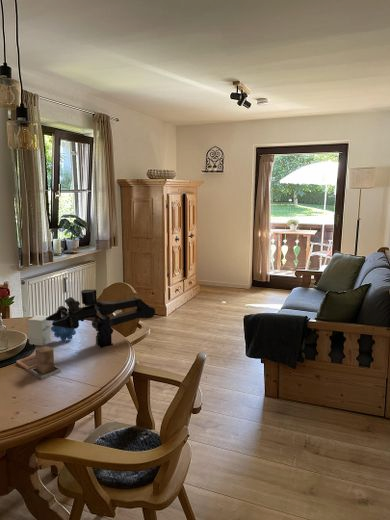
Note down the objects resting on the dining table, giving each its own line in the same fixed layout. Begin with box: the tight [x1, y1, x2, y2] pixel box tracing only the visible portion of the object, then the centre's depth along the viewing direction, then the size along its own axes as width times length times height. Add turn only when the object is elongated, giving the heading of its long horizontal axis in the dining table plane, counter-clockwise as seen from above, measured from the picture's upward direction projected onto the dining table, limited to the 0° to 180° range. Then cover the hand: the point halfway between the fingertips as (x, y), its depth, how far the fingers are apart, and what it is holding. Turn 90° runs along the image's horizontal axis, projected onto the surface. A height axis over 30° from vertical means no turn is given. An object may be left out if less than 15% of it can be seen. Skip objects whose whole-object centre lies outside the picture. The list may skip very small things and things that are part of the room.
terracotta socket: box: [16, 354, 37, 372], centre depth 167 cm, size 10×10×1 cm
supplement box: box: [27, 314, 51, 346], centre depth 189 cm, size 7×7×13 cm
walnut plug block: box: [34, 345, 55, 375], centre depth 158 cm, size 5×5×10 cm
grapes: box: [50, 321, 77, 341], centre depth 190 cm, size 12×7×12 cm, turn 105°
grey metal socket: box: [29, 364, 62, 380], centre depth 159 cm, size 9×9×1 cm
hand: (49, 321), depth 170 cm, fingers open, 9 cm apart
